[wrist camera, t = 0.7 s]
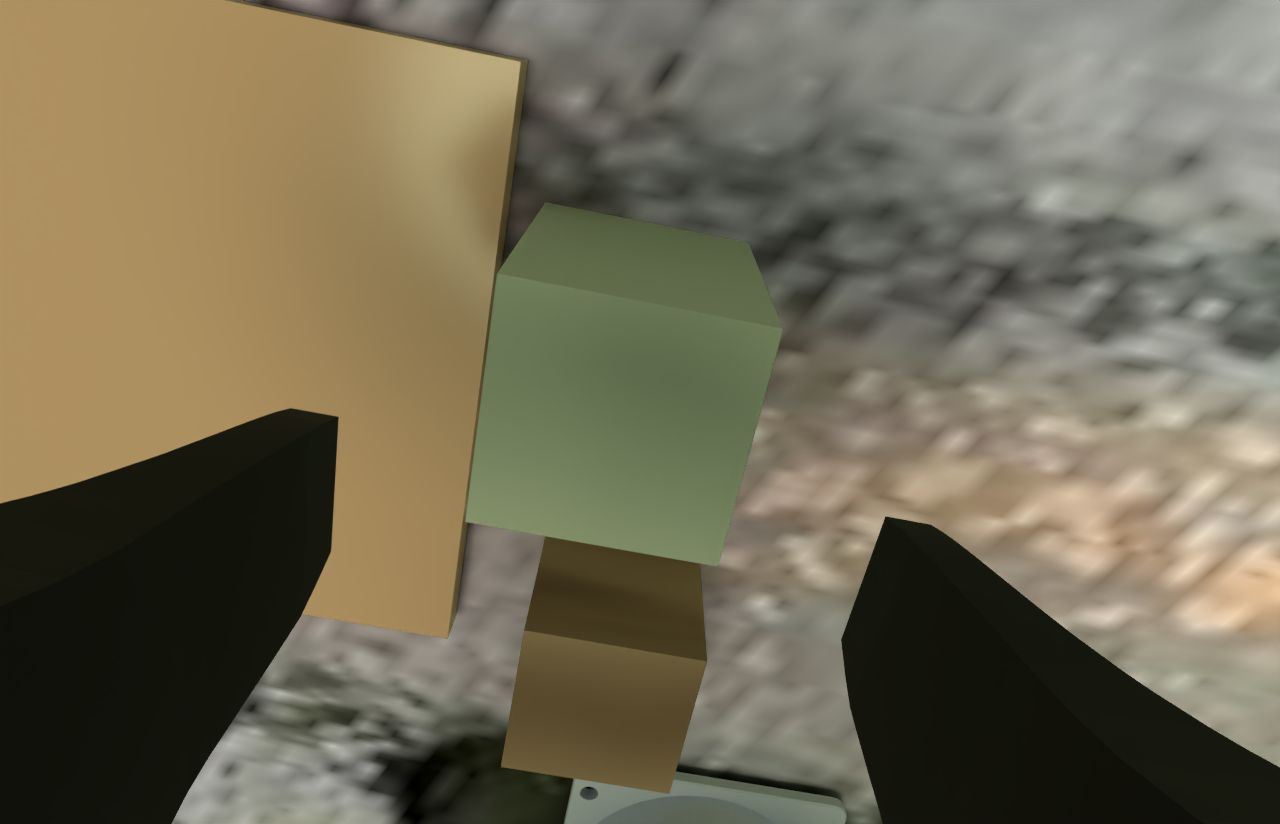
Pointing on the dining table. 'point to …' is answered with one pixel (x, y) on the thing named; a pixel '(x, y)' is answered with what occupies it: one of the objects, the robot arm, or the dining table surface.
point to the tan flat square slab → (256, 261)
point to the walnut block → (607, 666)
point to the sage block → (622, 385)
